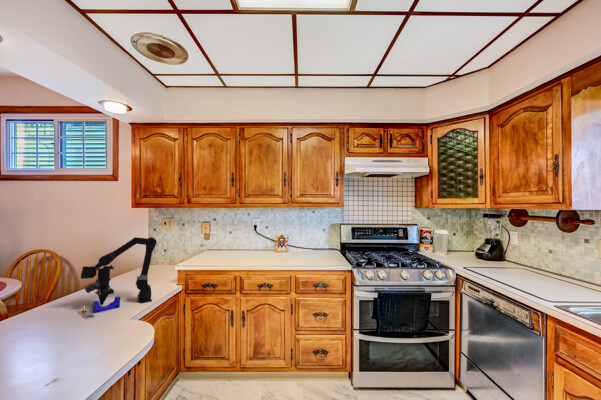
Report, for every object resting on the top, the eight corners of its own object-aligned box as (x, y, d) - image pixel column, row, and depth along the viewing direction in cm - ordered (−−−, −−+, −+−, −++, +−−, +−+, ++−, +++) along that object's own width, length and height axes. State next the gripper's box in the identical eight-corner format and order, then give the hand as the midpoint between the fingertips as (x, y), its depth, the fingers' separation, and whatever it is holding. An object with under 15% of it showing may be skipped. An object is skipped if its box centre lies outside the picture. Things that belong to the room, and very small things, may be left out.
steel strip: (86, 310, 146) (87, 303, 146) (94, 316, 136) (95, 309, 136) (77, 311, 143) (77, 304, 143) (85, 319, 133) (85, 311, 133)
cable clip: (116, 306, 153) (116, 295, 154) (119, 307, 151) (120, 297, 151) (91, 312, 143) (92, 300, 144) (94, 313, 141) (95, 302, 141)
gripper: (82, 276, 153) (79, 304, 152) (90, 282, 141) (88, 311, 140) (105, 274, 161) (103, 300, 160) (115, 278, 150) (113, 306, 148)
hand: (101, 304), depth 152 cm, fingers closed
